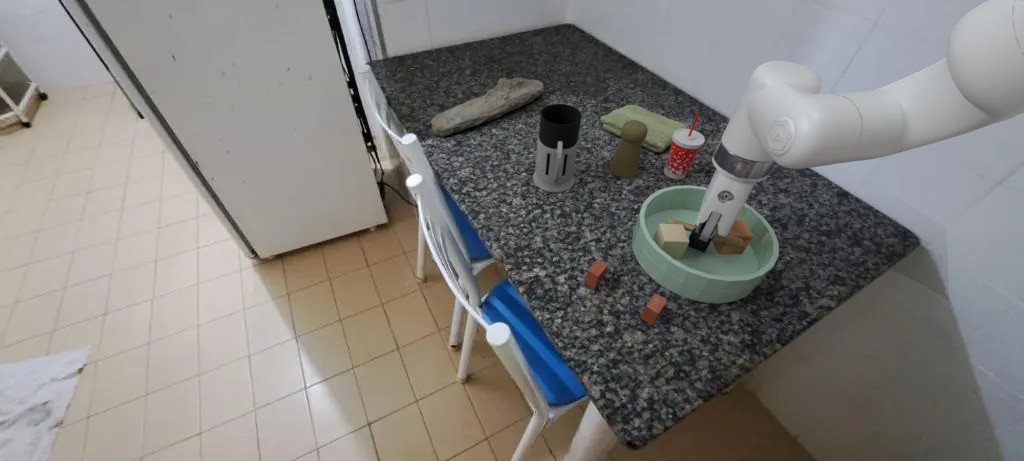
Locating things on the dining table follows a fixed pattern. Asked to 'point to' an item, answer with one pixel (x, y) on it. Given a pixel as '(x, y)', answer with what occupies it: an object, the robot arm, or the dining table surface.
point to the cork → (629, 149)
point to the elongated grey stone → (487, 105)
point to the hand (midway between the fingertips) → (696, 244)
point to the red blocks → (652, 308)
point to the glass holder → (557, 147)
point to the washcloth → (656, 124)
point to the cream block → (672, 239)
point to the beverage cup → (683, 151)
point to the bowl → (698, 270)
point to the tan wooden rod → (726, 238)
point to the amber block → (737, 231)
